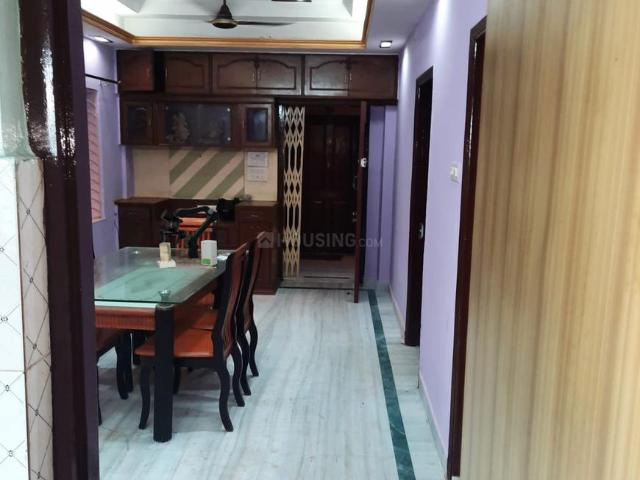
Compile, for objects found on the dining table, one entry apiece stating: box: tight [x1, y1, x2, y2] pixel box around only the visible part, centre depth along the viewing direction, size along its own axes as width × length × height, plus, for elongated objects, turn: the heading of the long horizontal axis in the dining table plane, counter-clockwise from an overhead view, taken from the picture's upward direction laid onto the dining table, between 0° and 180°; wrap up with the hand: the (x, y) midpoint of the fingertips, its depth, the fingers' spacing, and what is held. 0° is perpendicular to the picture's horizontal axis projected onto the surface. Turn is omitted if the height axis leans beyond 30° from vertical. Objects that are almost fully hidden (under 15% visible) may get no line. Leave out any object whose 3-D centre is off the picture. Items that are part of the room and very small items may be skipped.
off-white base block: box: [156, 258, 176, 269], centre depth 360 cm, size 10×10×3 cm
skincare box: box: [200, 239, 218, 266], centre depth 360 cm, size 8×7×16 cm
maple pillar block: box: [159, 242, 172, 262], centre depth 359 cm, size 5×5×12 cm
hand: (169, 244), depth 365 cm, fingers open, 9 cm apart
